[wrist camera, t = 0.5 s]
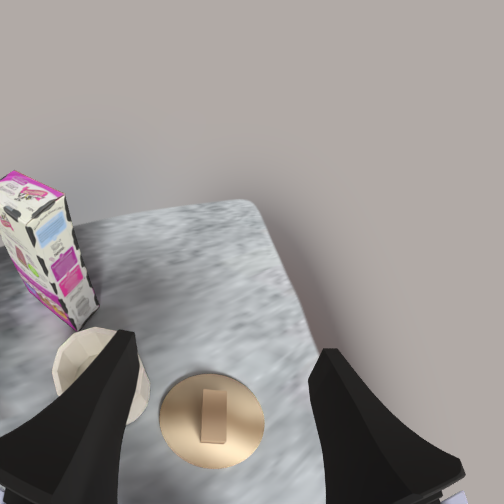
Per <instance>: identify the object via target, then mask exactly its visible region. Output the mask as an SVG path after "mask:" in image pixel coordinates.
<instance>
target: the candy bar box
mask: <svg viewBox="0 0 504 504" xmlns="http://www.w3.org/2000/svg"><path fill="white" fill-rule="evenodd" d="M0 235H1V237H2V240H3V242H4V244H5V246H6V248H7V250H8V253H9V255H10V257H11V259H12V261H13V263H14V265H15V267H16V269H17V271H18V272H19V274H20V276H21V278H22V280H23V282H24V283H25V285H26V287H27V289H28V290H29V292H30V293H31V294H33V295H34V296H35V297H36V298H37V299H38V300H39V301H40V302H42V303H43V304H44V305H45V306H46V307H47V308H49V309H50V310H51V311H52V312H53V313H54V314H56V315H57V316H58V317H59V318H60V319H62V320H63V321H64V322H65V323H67V324H68V325H69V326H70V327H72V328H73V329H74V330H76V331H77V332H78V331H79V330H80V329H81V328H82V327H83V325H84V324H85V323H86V322H87V320H88V319H89V318H90V317H91V316H92V315H93V314H94V313H95V311H96V310H97V309H98V308H99V306H100V305H99V302H98V300H97V297H96V295H95V293H94V290H93V287H92V285H91V282H90V279H89V277H88V274H87V270H86V267H85V265H84V262H83V259H82V256H81V252H80V249H79V246H78V243H77V239H76V236H75V232H74V229H73V225H72V221H71V217H70V214H69V210H68V205H67V201H66V196H65V194H64V193H62V192H60V191H57V190H55V189H53V188H51V187H49V186H47V185H45V184H42V183H40V182H38V181H36V180H34V179H32V178H30V177H28V176H26V175H24V174H21V173H19V172H17V171H15V170H14V171H12V172H11V173H9V174H8V175H6V176H5V177H3V178H2V179H0Z"/></svg>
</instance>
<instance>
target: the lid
mask: <svg viewBox="0 0 504 504" xmlns="http://www.w3.org/2000/svg"><path fill="white" fill-rule="evenodd" d="M160 428H161V431H162V434H163V437H164V439H165V441H166V442H167V444H168V446H169V447H170V448H171V449H172V451H173V452H175V453H176V454H177V455H178V456H179V457H180V458H182V459H183V460H185V461H187V462H188V463H190V464H193V465H195V466H199V467H203V468H209V469H220V468H227V467H230V466H234V465H236V464H238V463H240V462H242V461H244V460H245V459H247V458H248V457H249V456H250V455H251V454H252V453H253V452H254V451H255V450H256V448H257V447H258V445H259V443H260V442H261V439H262V436H263V432H264V415H263V411H262V408H261V406H260V404H259V402H258V400H257V398H256V397H255V396H254V394H253V393H252V392H251V391H250V390H249V389H248V388H247V387H245V386H244V385H243V384H241V383H240V382H238V381H236V380H234V379H232V378H229V377H227V376H223V375H217V374H200V375H195V376H192V377H189V378H187V379H185V380H183V381H181V382H179V383H178V384H177V385H175V386H174V387H173V388H172V389H171V390H170V391H169V393H168V394H167V395H166V397H165V399H164V401H163V403H162V406H161V410H160Z"/></svg>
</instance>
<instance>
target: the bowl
mask: <svg viewBox="0 0 504 504" xmlns="http://www.w3.org/2000/svg"><path fill="white" fill-rule="evenodd" d="M116 332H117V331H114V330H109V329H104V328H99V327H93V328H89V329H86V330H83V331H79V332H76V333H74V334H72V335H71V336H70V337H69V338H68V339H67V340H66V341H65V342H64V343H63V344H62V345H61V346H60V347H59V348H58V351H57V354H56V358H55V361H54V365H53V368H52V374H53V379H54V383H55V387H56V391H57V394H58V396H60V395H61V394H62V393H63V392H64V391H65V390H66V389H68V388H69V387H70V386H71V384H72V383H73V382H74V381H75V380H76V379H77V378H78V377H79V376H80V375H81V374H82V373H83V372H84V371H85V370H86V368H87V367H88V366H89V365H90V364H91V363H92V362H93V360H94V359H95V358H96V357H97V356H98V354H99V353H100V352H101V351H102V350H103V348H104V347H105V346H106V345H107V343H108V342H109V341H110V340H111V338H112V337H113V336H114V335H115V333H116ZM138 357H139V354H138ZM139 363H140V369H139V375H138V381H137V387H136V391H135V395H134V398H133V402H132V405H131V409H130V412H129V416H128V419H127V423H126V425H128V424H130V423H132V422H134V421H135V420H136V419H138V418H139V417H140V415H141V414H142V413H143V412H144V410H145V408H146V406H147V405H148V401H149V397H150V381H149V379H148V376H147V374H146V372H145V369H144V367H143V364H142V362H141V359H140V357H139Z"/></svg>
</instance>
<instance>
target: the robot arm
mask: <svg viewBox="0 0 504 504" xmlns="http://www.w3.org/2000/svg"><path fill="white" fill-rule="evenodd" d="M139 369H140V363H139V357H138V352H137V346H136V339H135V333H134V332H130V331H124V330H118V331H117V332H116V333H115V335H114V336H113V337H112V338H111V340H110V341H109V342H108V343H107V345H106V346H105V347H104V348H103V350H102V351H101V352H100V353H99V354H98V356H97V357H96V358H95V359H94V360H93V362H92V363H91V364H90V365H89V366H88V367H87V368H86V370H85V371H84V372H83V373H82V374H81V375H80V376H79V377H78V378H77V379H76V380H75V381H74V382H73V383H72V384H71V386H70V387H69V388H68V389H66V390H65V391H64V392H63V393H62V394H61V395H60V396H59V397H58V398H57V399H56V400H55V401H53V402H52V403H51V404H50V405H49V406H47V407H46V408H45V409H44V410H42V411H41V412H40V413H39V414H37V415H36V416H35V417H33V418H32V419H30V420H29V421H27V422H26V423H24V424H23V425H21V426H20V427H18V428H16V429H15V430H13V431H11V432H10V433H8V434H6V435H4V436H2V437H0V484H1V485H2V486H4V487H5V488H6V489H5V490H4V489H2V488H0V504H117V489H118V472H119V460H120V452H121V444H122V439H123V434H124V430H125V427H126V423H127V419H128V416H129V412H130V409H131V405H132V402H133V398H134V395H135V391H136V387H137V381H138V375H139ZM308 384H309V394H310V402H311V406H312V410H313V414H314V418H315V422H316V426H317V431H318V435H319V439H320V443H321V447H322V453H323V461H324V470H325V484H326V504H468V502H467V499H466V496H465V493H464V491H463V490H462V491H460V492H458V493H456V494H454V495H453V496H451V497H449V498H447V499H445V500H444V501H442V502H440V500H439V498H441V497H442V496H443V494H442V491H441V490H443V489H445V488H447V487H449V486H450V485H452V484H454V483H455V482H457V481H459V480H460V479H462V478H464V477H465V475H466V474H465V472H464V469H463V466H462V464H461V461H460V459H459V458H456V457H454V456H452V455H450V454H448V453H446V452H444V451H442V450H440V449H439V448H437V447H435V446H434V445H432V444H430V443H429V442H427V441H426V440H424V439H423V438H421V437H420V436H419V435H417V434H416V433H415V432H413V431H412V430H411V429H409V428H408V427H407V426H406V425H404V424H403V423H402V422H401V421H400V420H399V419H398V418H396V416H394V415H393V414H392V413H391V412H390V411H389V410H388V409H387V408H386V407H385V406H384V405H383V404H382V403H381V401H380V400H379V399H378V398H377V397H376V396H375V395H374V394H373V393H372V392H371V390H370V389H369V388H368V387H367V385H366V384H365V383H364V382H363V381H362V379H361V378H360V377H359V376H358V375H357V373H356V372H355V371H354V369H353V368H352V367H351V365H350V364H349V363H348V362H347V360H346V359H345V358H344V356H343V355H342V354H341V353H340V352H339V350H338V349H323V350H322V352H321V354H320V356H319V358H318V360H317V362H316V364H315V366H314V368H313V370H312V372H311V374H310V376H309V378H308Z"/></svg>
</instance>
